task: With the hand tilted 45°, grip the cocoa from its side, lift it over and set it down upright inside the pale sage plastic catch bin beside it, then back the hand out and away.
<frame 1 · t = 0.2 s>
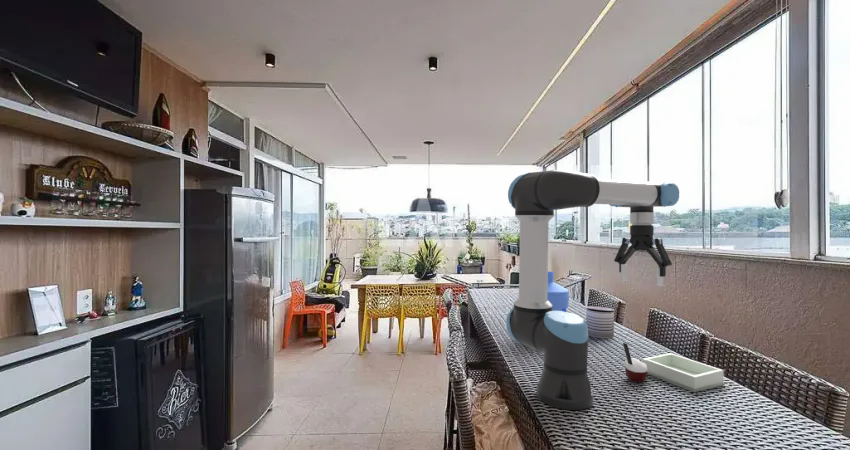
hand: (641, 283, 147), 27 cm above the table, tool pointing down, fingers open, 13 cm apart
cocoa: (634, 380, 129), on the table
water jug: (548, 339, 172), on the table
catch bin: (681, 378, 131), on the table
can: (599, 334, 179), on the table
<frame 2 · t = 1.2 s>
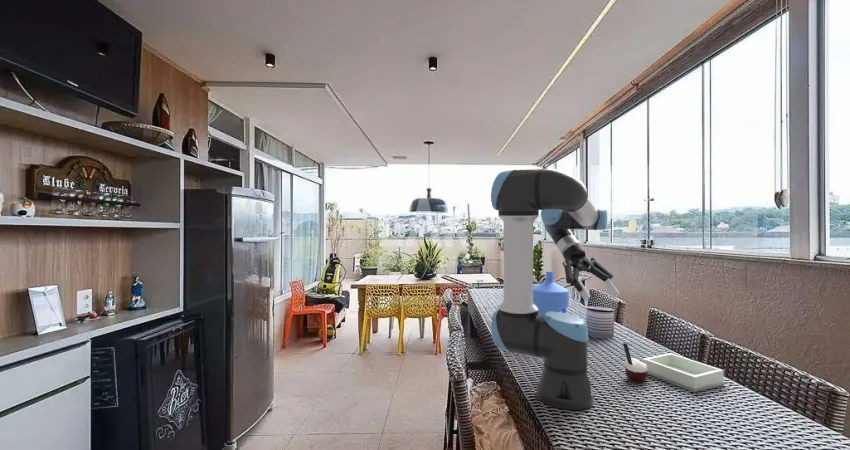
hand: (602, 297, 141), 24 cm above the table, tool tilted 45°, fingers open, 13 cm apart
nothing on the table moved.
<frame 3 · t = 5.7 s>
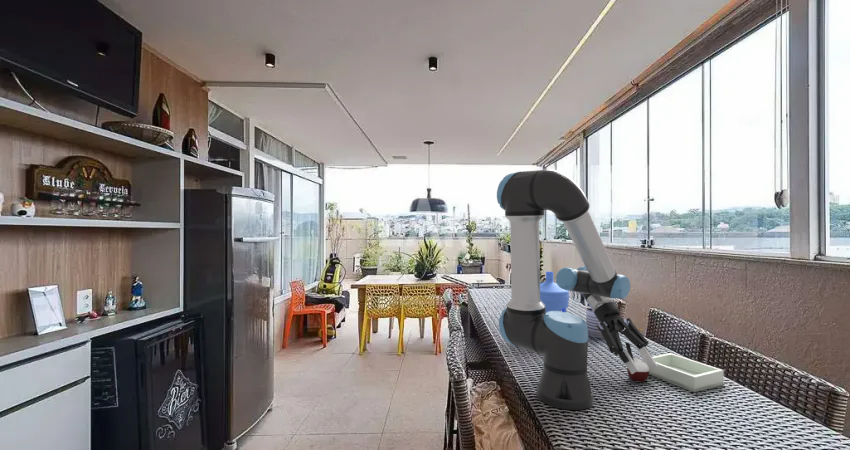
hand: (644, 369, 126), 4 cm above the table, tool tilted 45°, fingers closed on cocoa, 8 cm apart
cocoa: (636, 380, 130), on the table, touching gripper
everything else where it was.
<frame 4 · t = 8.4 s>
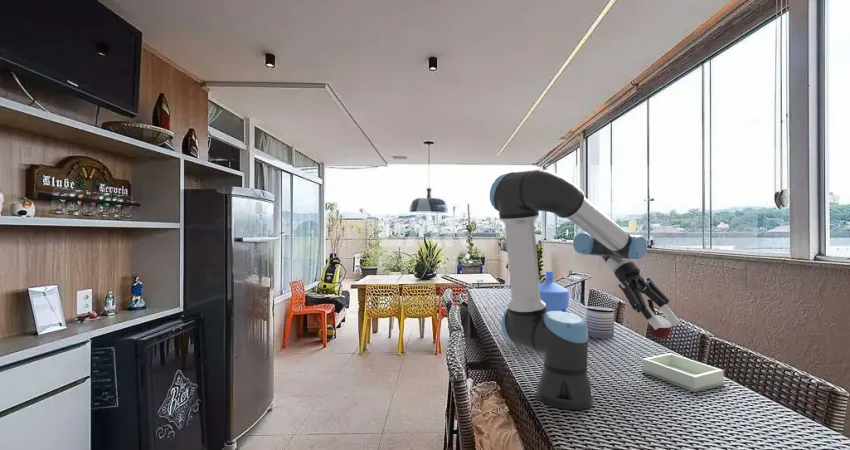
hand: (667, 325, 128), 18 cm above the table, tool tilted 45°, fingers closed on cocoa, 8 cm apart
cocoa: (658, 336, 131), point 13 cm above the table, touching gripper
everything else where it was.
when the fingers open (7 cm above the table, at t = 11.2 s): cocoa drops 1 cm, resting on catch bin.
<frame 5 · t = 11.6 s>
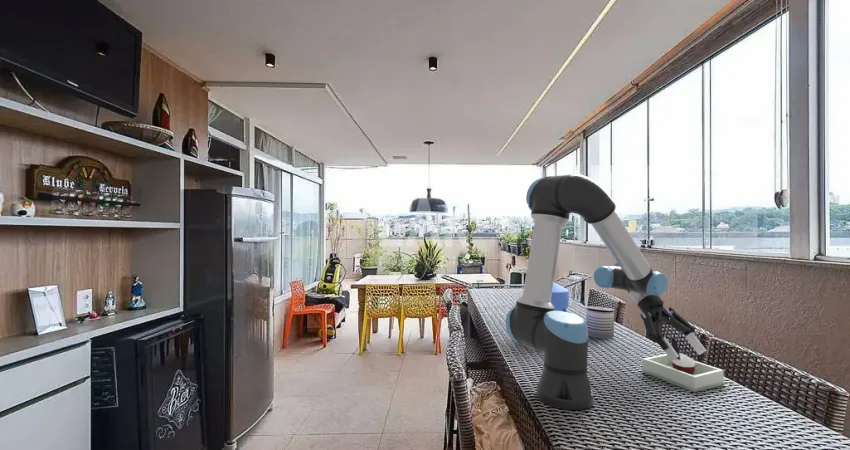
hand: (689, 355, 129), 8 cm above the table, tool tilted 45°, fingers open, 13 cm apart
cocoa: (682, 375, 131), point 1 cm above the table, touching catch bin
everything else where it was.
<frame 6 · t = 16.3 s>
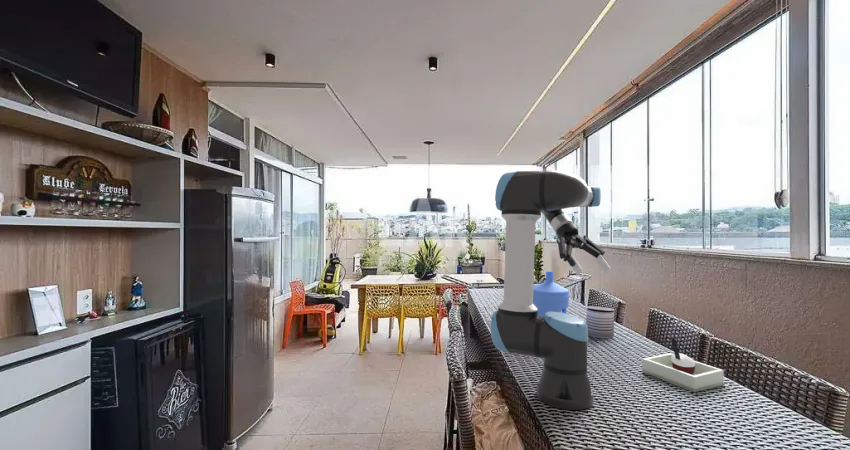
hand: (594, 271, 146), 32 cm above the table, tool tilted 45°, fingers open, 13 cm apart
nothing on the table moved.
at the end: cocoa inside the target area on the catch bin (0.4 cm from its centre), point 0.8 cm above the catch bin's base; cocoa tilted 0°; the gripper is holding nothing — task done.
